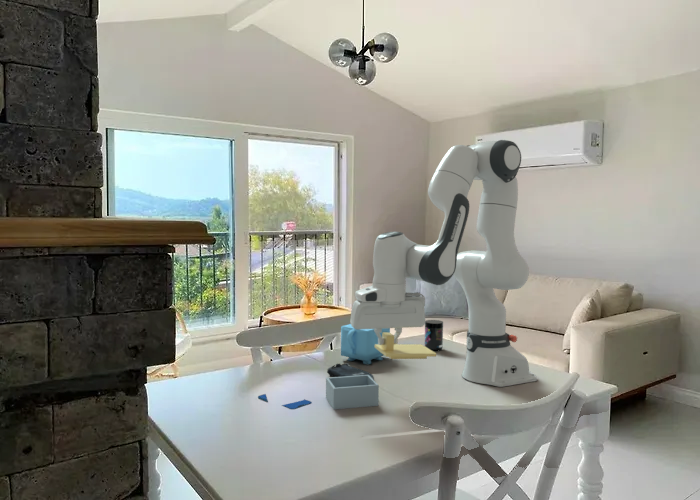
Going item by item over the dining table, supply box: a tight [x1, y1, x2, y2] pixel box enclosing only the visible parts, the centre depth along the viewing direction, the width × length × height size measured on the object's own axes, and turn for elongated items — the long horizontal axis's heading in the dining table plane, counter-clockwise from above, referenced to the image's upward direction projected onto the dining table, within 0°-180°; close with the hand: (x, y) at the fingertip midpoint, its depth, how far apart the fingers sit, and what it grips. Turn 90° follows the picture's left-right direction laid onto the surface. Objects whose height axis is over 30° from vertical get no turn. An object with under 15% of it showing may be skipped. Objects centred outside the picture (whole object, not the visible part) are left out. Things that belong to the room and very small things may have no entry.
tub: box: [325, 375, 380, 411], centre depth 142 cm, size 12×9×6 cm
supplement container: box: [424, 319, 444, 352], centre depth 198 cm, size 7×7×10 cm
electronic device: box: [326, 362, 375, 381], centre depth 163 cm, size 9×6×15 cm
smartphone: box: [257, 393, 313, 410], centre depth 144 cm, size 7×1×15 cm
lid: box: [374, 332, 437, 360], centre depth 145 cm, size 14×10×6 cm
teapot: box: [340, 323, 391, 365], centre depth 186 cm, size 22×11×14 cm, turn 141°
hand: (387, 344), depth 143 cm, fingers closed on lid, 2 cm apart
